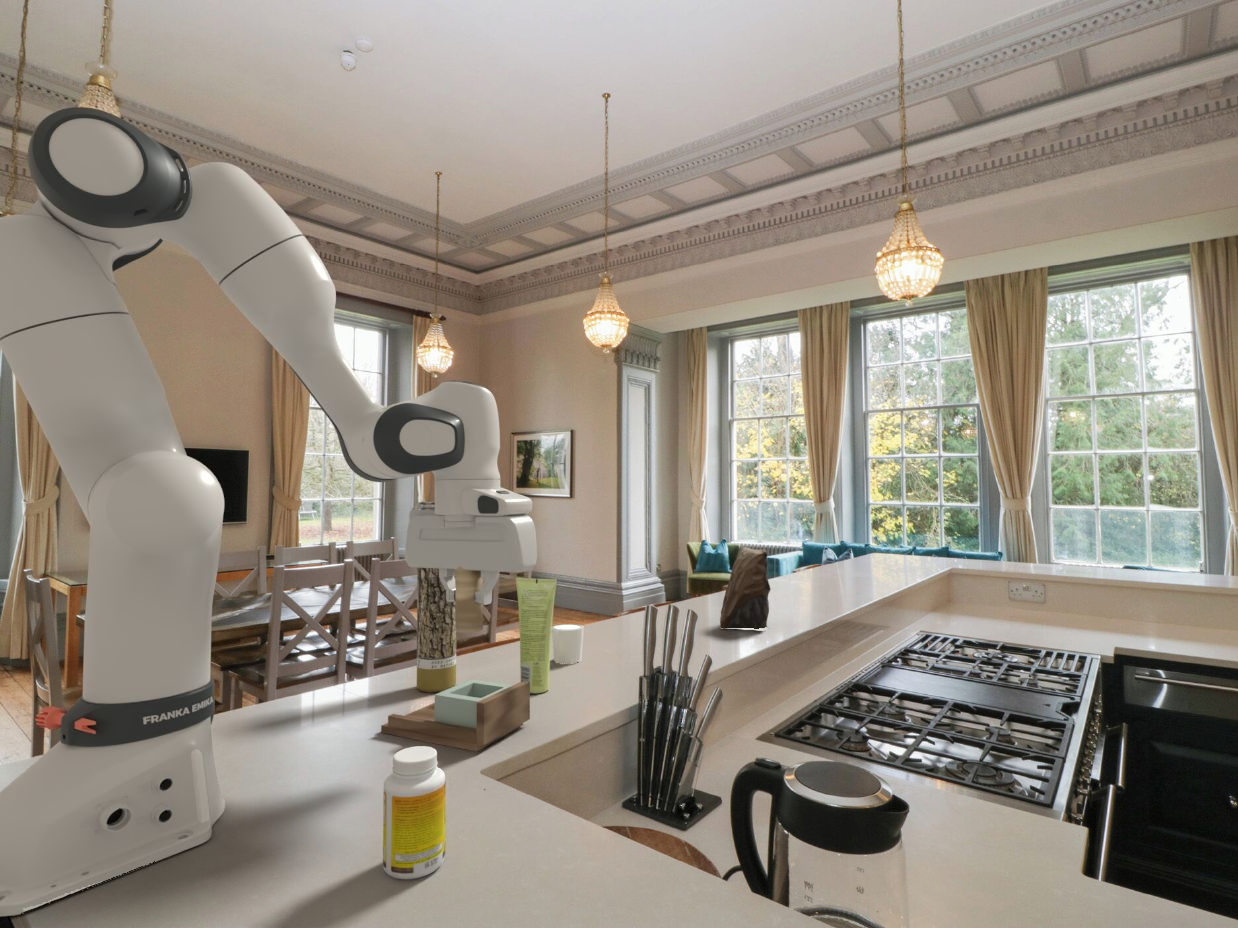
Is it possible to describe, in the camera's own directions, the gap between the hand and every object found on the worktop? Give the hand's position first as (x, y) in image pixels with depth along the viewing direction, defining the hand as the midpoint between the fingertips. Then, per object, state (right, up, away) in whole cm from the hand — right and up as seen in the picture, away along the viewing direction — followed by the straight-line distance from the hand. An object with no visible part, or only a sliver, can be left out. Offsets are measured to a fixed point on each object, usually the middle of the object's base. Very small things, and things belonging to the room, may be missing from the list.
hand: (468, 602), depth 90 cm
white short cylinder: (+10, -22, +46) cm, 52 cm away
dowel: (0, -4, 0) cm, 4 cm away
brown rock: (+52, -23, +79) cm, 98 cm away
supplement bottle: (+1, -19, -28) cm, 34 cm away
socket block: (0, -19, +5) cm, 20 cm away
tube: (+6, -21, +26) cm, 34 cm away
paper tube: (-12, -21, +28) cm, 37 cm away
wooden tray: (-4, -20, +7) cm, 22 cm away
